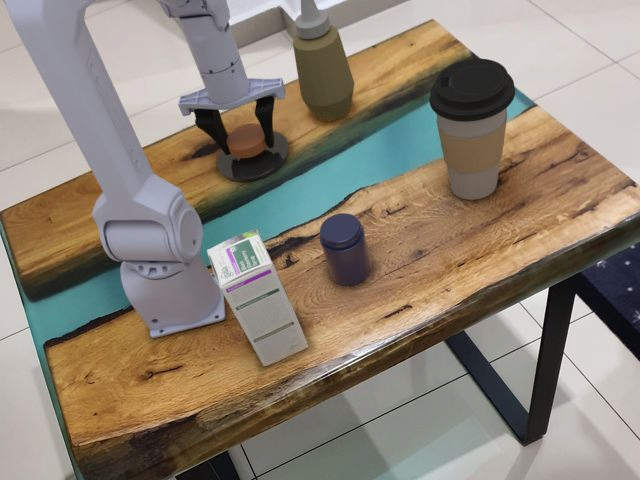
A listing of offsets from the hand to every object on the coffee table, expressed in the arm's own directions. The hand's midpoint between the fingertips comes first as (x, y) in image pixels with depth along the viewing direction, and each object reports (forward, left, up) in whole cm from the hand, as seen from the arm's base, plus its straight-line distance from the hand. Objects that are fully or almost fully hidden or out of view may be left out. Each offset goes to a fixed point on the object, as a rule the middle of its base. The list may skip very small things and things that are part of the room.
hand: (250, 147), depth 94 cm
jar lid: (0, 0, +2) cm, 2 cm away
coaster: (0, 0, -2) cm, 2 cm away
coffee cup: (+28, -18, -2) cm, 33 cm away
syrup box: (0, -35, -2) cm, 35 cm away
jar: (+10, -27, -2) cm, 29 cm away
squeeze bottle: (+13, +6, -2) cm, 14 cm away
